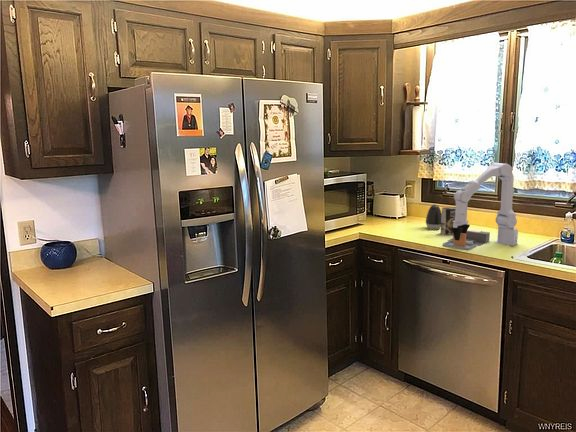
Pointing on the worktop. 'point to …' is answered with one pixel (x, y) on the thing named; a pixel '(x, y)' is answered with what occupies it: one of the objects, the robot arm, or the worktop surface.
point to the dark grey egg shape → (434, 217)
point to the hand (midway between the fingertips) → (459, 238)
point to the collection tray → (468, 246)
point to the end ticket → (460, 240)
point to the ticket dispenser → (476, 237)
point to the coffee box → (447, 220)
